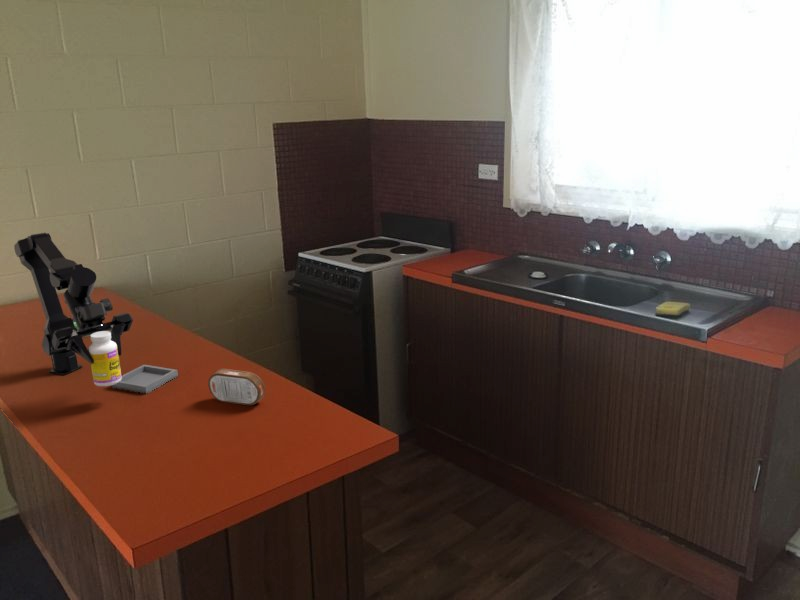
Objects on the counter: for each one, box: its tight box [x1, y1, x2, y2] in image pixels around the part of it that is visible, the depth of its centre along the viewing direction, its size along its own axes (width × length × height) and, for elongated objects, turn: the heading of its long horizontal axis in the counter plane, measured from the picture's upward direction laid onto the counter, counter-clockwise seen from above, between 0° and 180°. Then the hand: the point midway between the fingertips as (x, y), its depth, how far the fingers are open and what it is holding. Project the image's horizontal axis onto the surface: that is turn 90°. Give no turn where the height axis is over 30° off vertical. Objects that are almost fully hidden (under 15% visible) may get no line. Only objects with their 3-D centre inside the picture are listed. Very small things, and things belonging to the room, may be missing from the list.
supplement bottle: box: [87, 330, 122, 387], centre depth 169 cm, size 7×7×13 cm
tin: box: [207, 368, 266, 406], centre depth 169 cm, size 15×3×8 cm, turn 71°
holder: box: [111, 364, 179, 395], centre depth 184 cm, size 12×12×2 cm
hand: (106, 358), depth 168 cm, fingers closed on supplement bottle, 7 cm apart
